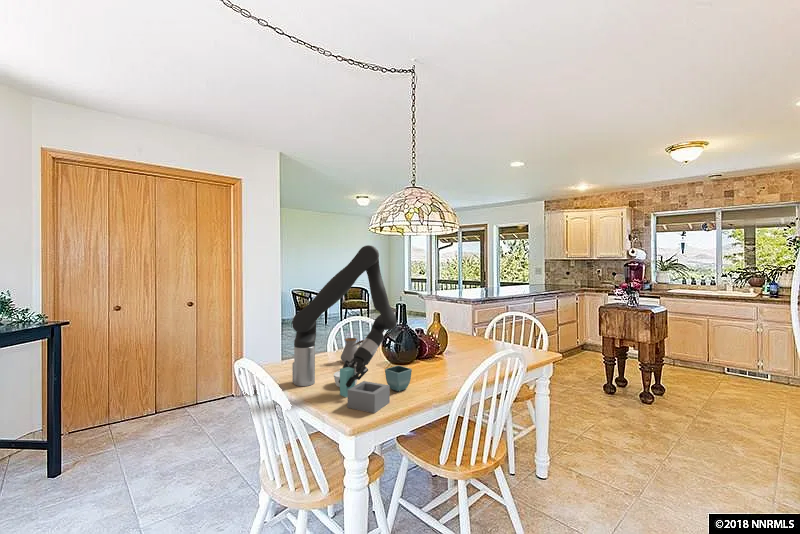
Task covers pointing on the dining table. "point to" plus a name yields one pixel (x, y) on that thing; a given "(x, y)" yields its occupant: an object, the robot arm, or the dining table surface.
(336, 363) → the dining table surface
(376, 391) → the box
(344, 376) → the teal post
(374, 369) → the dining table surface
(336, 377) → the ramekin
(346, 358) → the coffee pot
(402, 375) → the flower pot
